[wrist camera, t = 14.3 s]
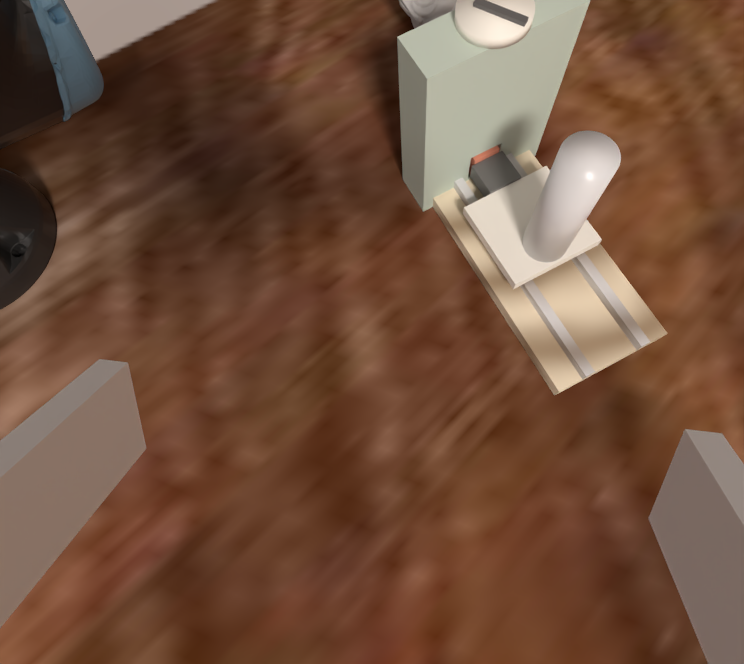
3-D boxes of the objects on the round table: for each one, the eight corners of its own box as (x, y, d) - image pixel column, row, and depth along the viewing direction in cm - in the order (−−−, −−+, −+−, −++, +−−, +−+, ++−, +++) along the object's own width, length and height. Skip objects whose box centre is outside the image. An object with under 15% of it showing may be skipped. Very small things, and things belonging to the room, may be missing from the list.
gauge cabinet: (400, 175, 49) (392, 17, 33) (509, 121, 50) (555, -60, 34) (425, 215, 48) (431, 70, 31) (538, 159, 48) (600, -11, 32)
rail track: (432, 206, 48) (433, 191, 45) (526, 159, 48) (531, 142, 46) (554, 395, 42) (562, 389, 39) (658, 338, 42) (673, 329, 40)
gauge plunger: (449, 144, 47) (451, 127, 45) (472, 133, 47) (475, 115, 45) (472, 177, 46) (475, 160, 44) (495, 165, 46) (499, 148, 44)
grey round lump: (392, 19, 55) (389, -46, 48) (456, 4, 55) (462, -63, 48) (405, 63, 53) (404, 1, 46) (472, 47, 53) (480, -17, 46)
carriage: (445, 189, 45) (455, 80, 33) (523, 149, 46) (561, 29, 34) (512, 290, 42) (551, 210, 30) (596, 247, 43) (666, 151, 31)
